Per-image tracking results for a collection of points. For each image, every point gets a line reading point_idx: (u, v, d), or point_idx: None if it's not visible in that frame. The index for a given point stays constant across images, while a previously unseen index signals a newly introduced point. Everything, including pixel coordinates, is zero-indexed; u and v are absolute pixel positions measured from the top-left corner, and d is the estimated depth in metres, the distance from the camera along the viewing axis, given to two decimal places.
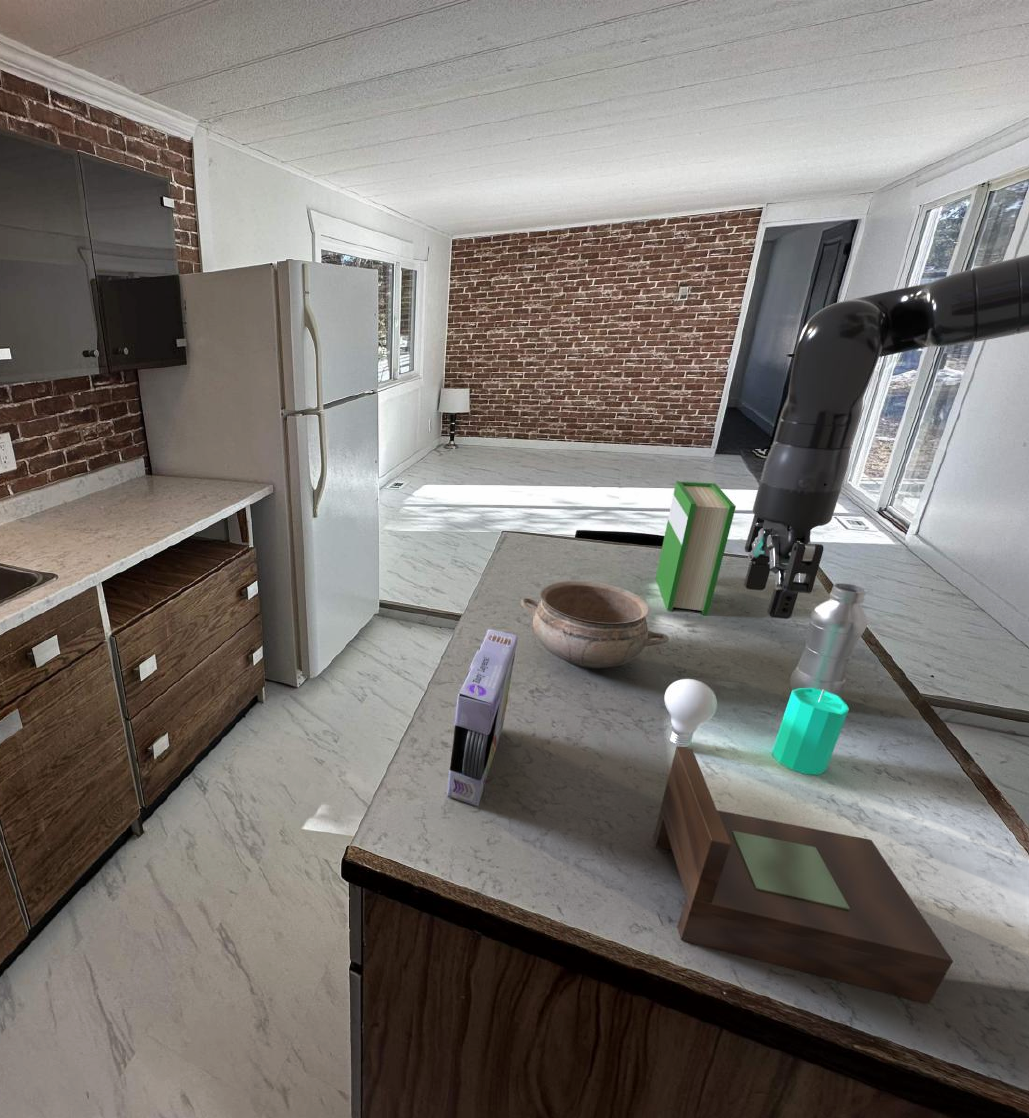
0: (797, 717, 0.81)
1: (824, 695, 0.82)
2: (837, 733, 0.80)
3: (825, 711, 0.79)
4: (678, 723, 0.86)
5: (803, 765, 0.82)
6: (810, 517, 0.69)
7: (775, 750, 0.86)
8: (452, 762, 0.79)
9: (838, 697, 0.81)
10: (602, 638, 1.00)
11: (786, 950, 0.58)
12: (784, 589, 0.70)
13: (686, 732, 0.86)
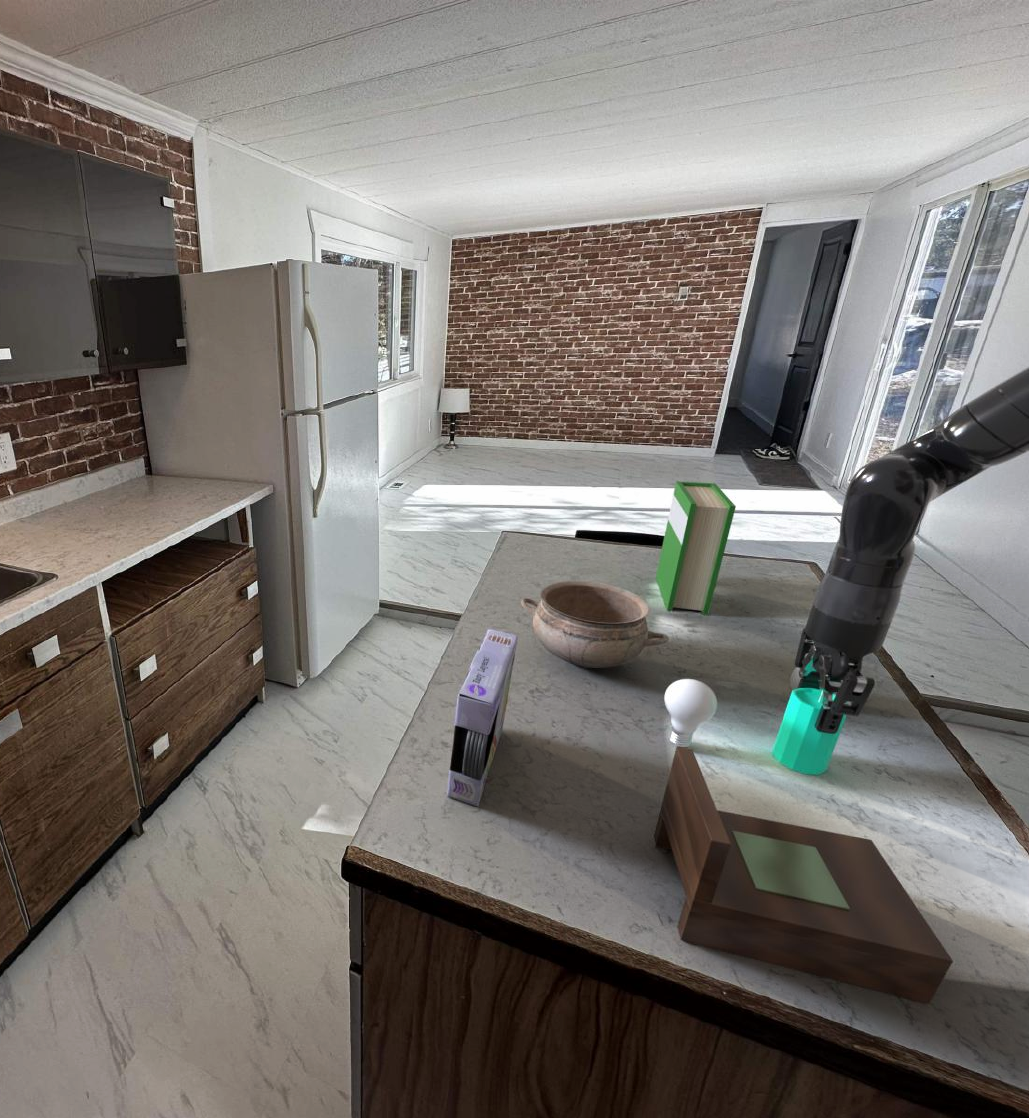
0: (797, 717, 0.81)
1: None
2: (837, 733, 0.80)
3: None
4: (678, 723, 0.86)
5: (803, 765, 0.82)
6: (862, 646, 0.74)
7: (775, 750, 0.86)
8: (452, 762, 0.79)
9: None
10: (602, 638, 1.00)
11: (786, 950, 0.58)
12: (832, 711, 0.76)
13: (686, 732, 0.86)
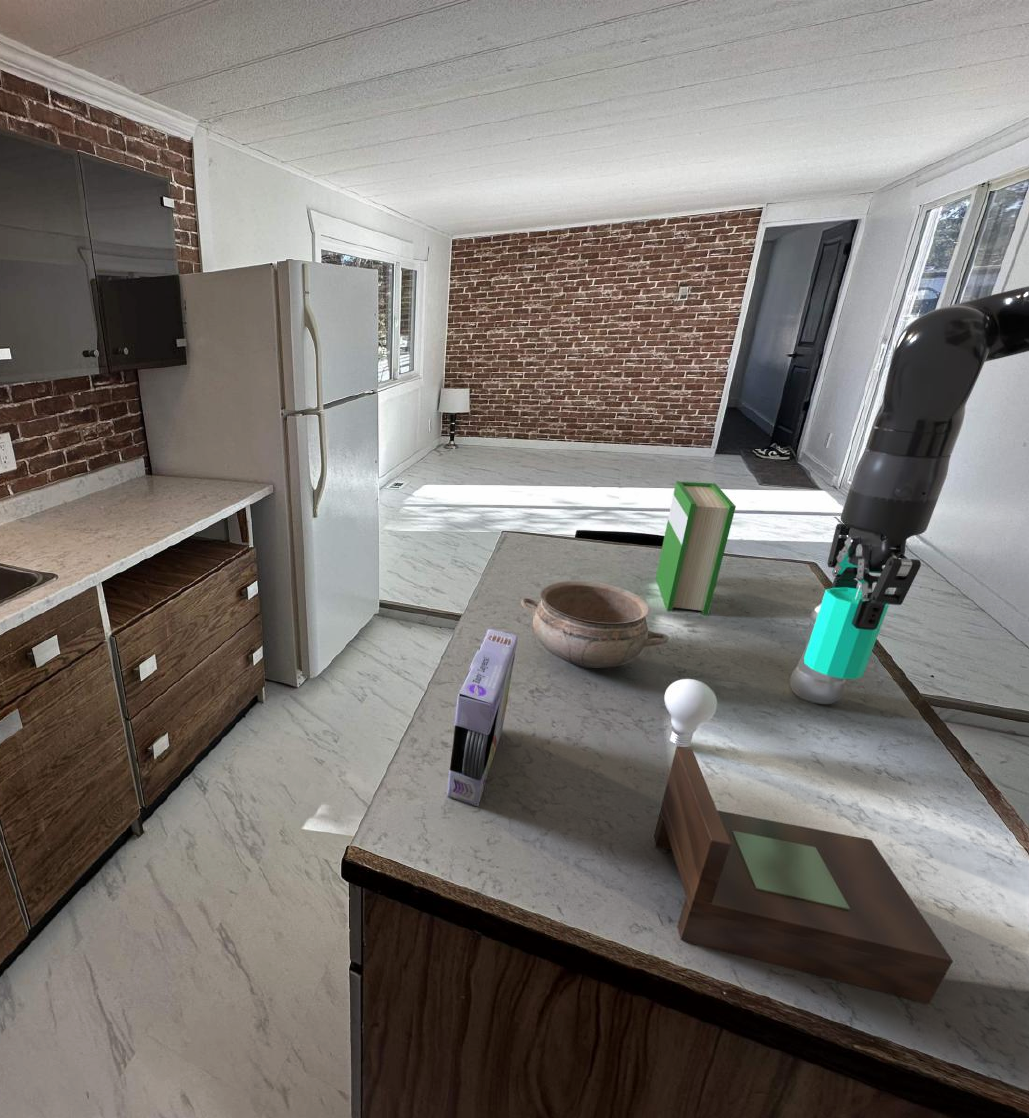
0: (832, 616, 0.75)
1: None
2: (876, 631, 0.74)
3: None
4: (678, 723, 0.86)
5: (839, 669, 0.76)
6: (906, 527, 0.68)
7: (807, 657, 0.79)
8: (452, 762, 0.79)
9: None
10: (602, 638, 1.00)
11: (786, 950, 0.58)
12: (873, 601, 0.70)
13: (686, 732, 0.86)
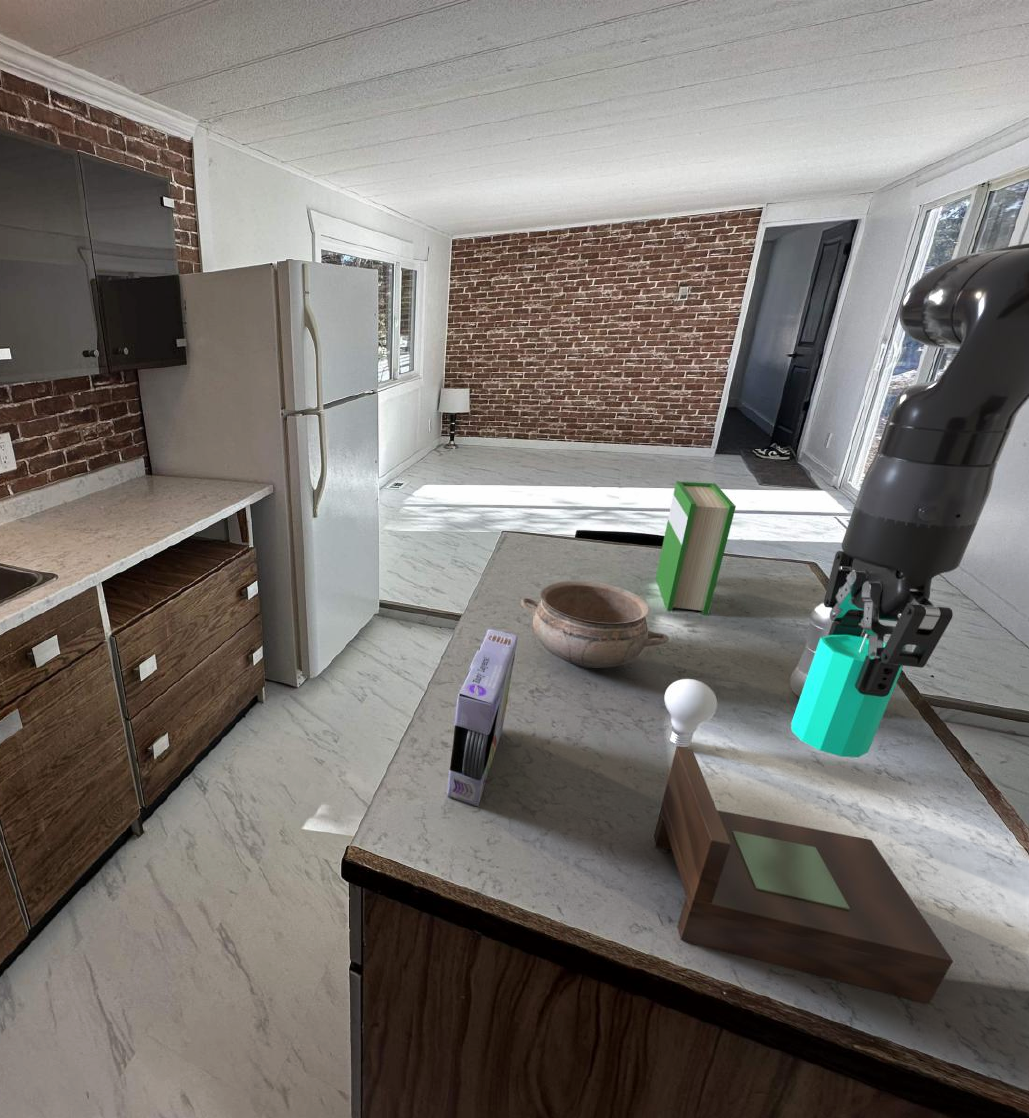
0: (828, 674, 0.57)
1: (867, 645, 0.58)
2: (887, 697, 0.55)
3: None
4: (678, 723, 0.86)
5: (836, 744, 0.58)
6: (932, 561, 0.49)
7: (795, 724, 0.61)
8: (452, 762, 0.79)
9: None
10: (602, 638, 1.00)
11: (786, 950, 0.58)
12: (884, 660, 0.51)
13: (686, 732, 0.86)
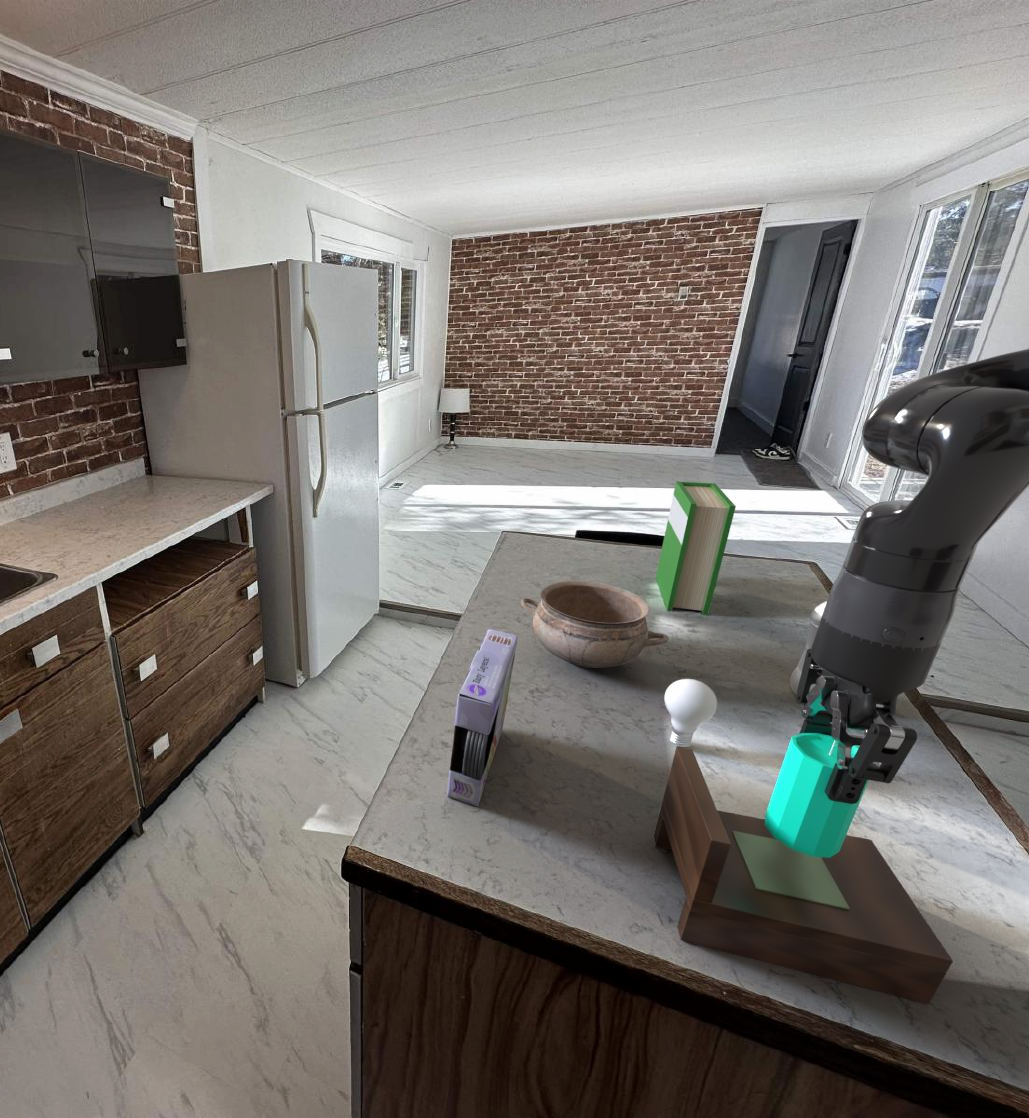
0: (798, 777, 0.57)
1: None
2: None
3: None
4: (678, 723, 0.86)
5: (808, 845, 0.58)
6: (897, 680, 0.49)
7: (768, 819, 0.61)
8: (452, 762, 0.79)
9: (858, 748, 0.57)
10: (602, 638, 1.00)
11: (786, 950, 0.58)
12: (852, 774, 0.51)
13: (686, 732, 0.86)
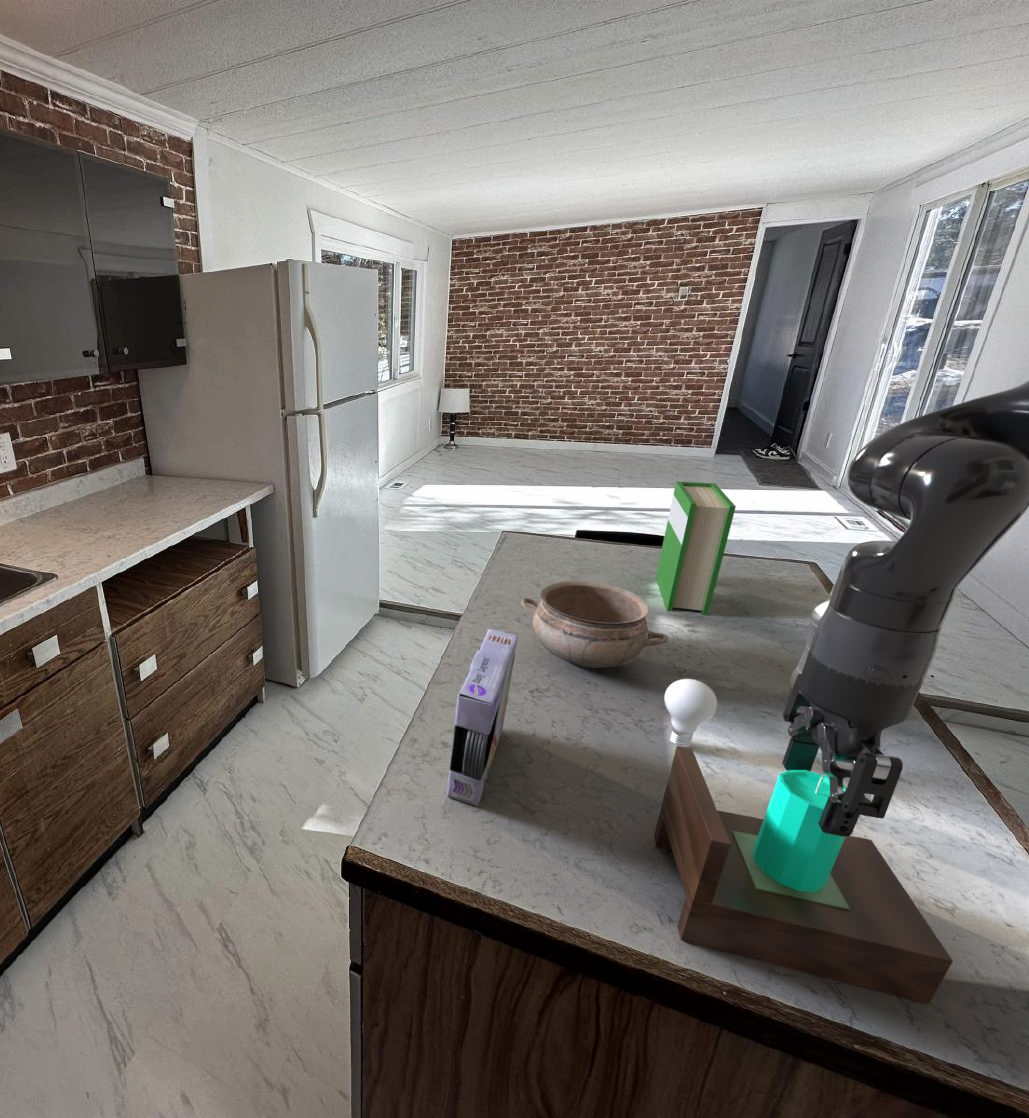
0: (785, 814, 0.59)
1: (824, 783, 0.60)
2: (841, 839, 0.57)
3: None
4: (678, 723, 0.86)
5: (794, 879, 0.60)
6: (881, 715, 0.51)
7: (756, 852, 0.63)
8: (452, 762, 0.79)
9: (843, 786, 0.58)
10: (602, 638, 1.00)
11: (786, 950, 0.58)
12: (845, 809, 0.52)
13: (686, 732, 0.86)
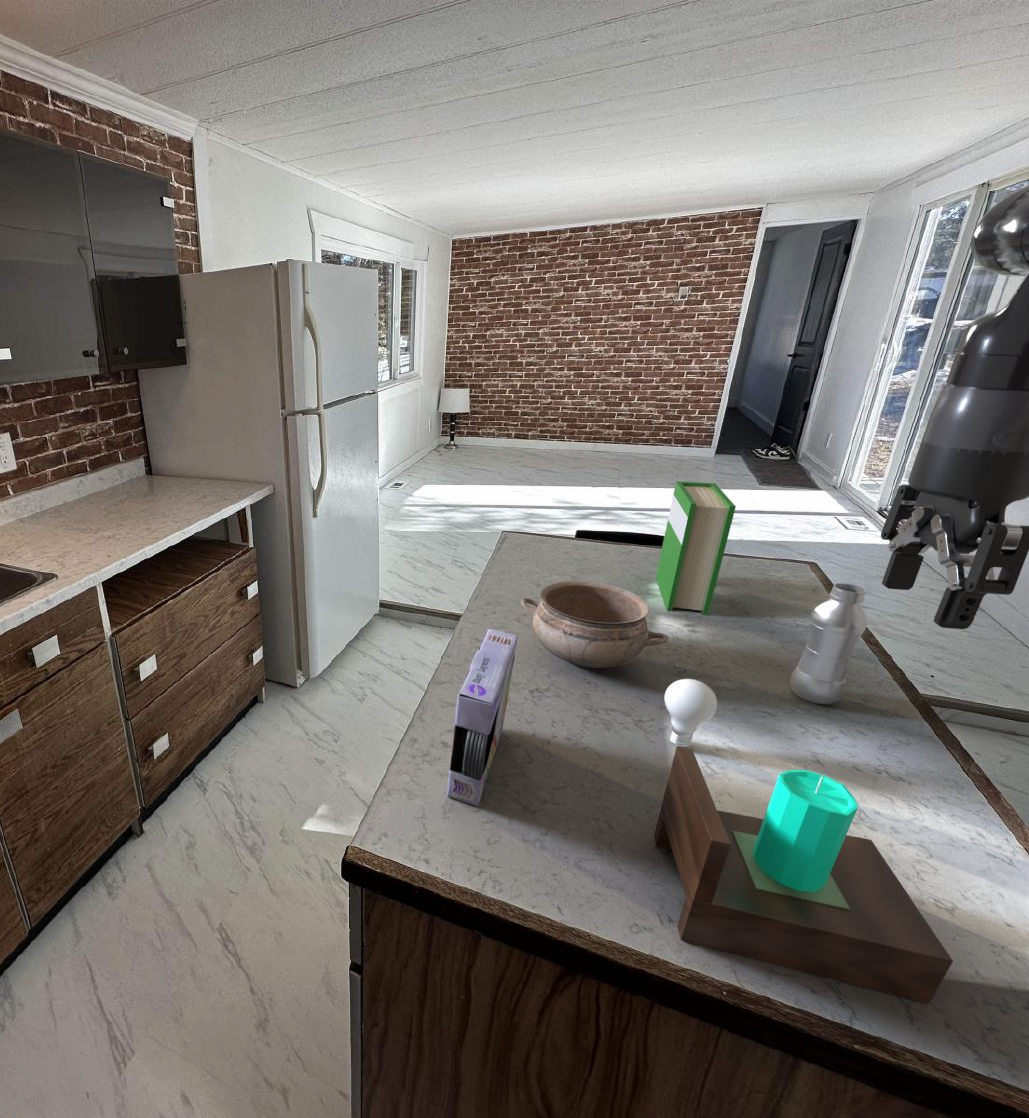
0: (785, 814, 0.59)
1: (824, 783, 0.60)
2: (841, 839, 0.57)
3: (825, 810, 0.56)
4: (678, 723, 0.86)
5: (794, 879, 0.60)
6: (1007, 488, 0.49)
7: (756, 852, 0.63)
8: (452, 762, 0.79)
9: (843, 786, 0.58)
10: (602, 638, 1.00)
11: (786, 950, 0.58)
12: (969, 589, 0.50)
13: (686, 732, 0.86)
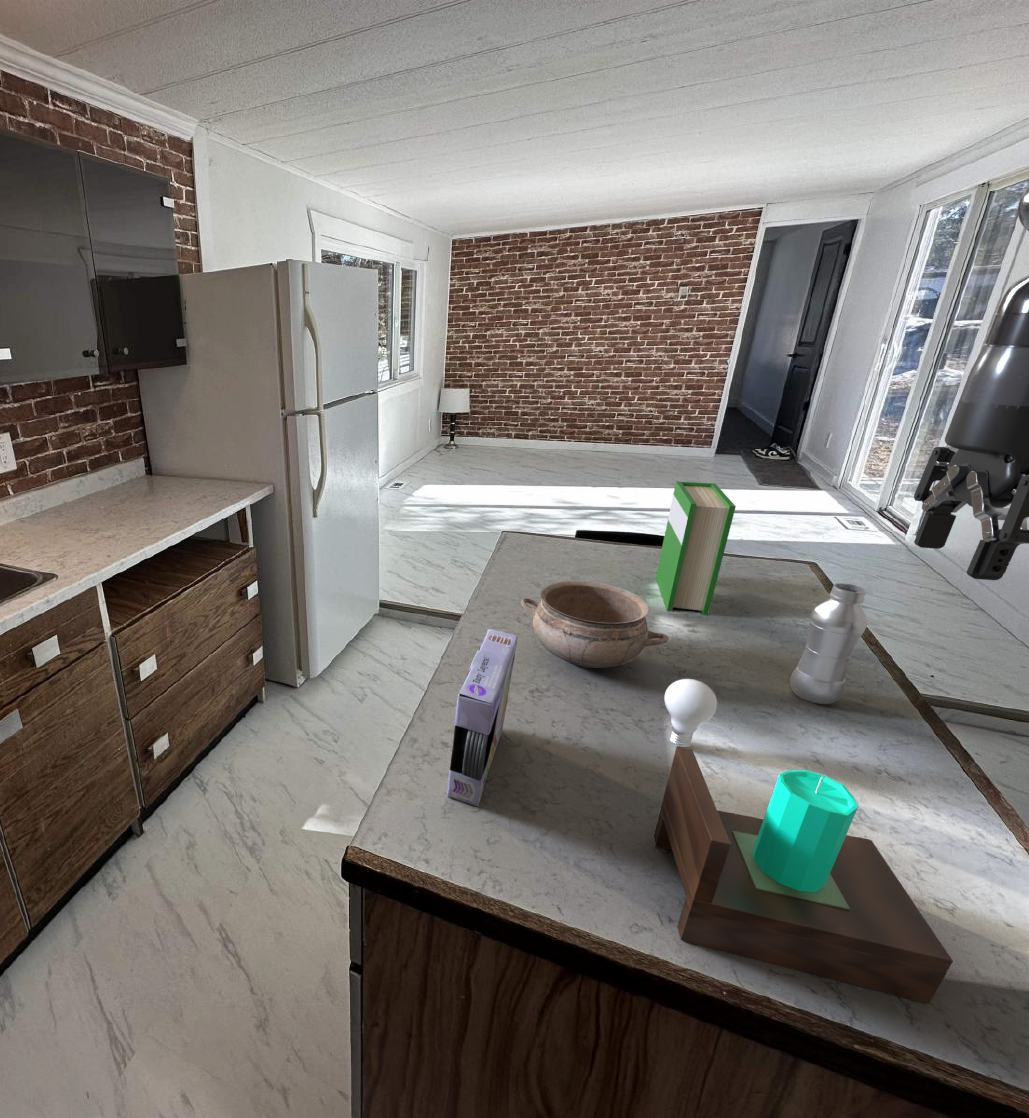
0: (785, 814, 0.59)
1: (824, 783, 0.60)
2: (841, 839, 0.57)
3: (825, 810, 0.56)
4: (678, 723, 0.86)
5: (794, 879, 0.60)
6: None
7: (756, 852, 0.63)
8: (452, 762, 0.79)
9: (843, 786, 0.58)
10: (602, 638, 1.00)
11: (786, 950, 0.58)
12: (1004, 539, 0.53)
13: (686, 732, 0.86)
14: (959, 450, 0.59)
